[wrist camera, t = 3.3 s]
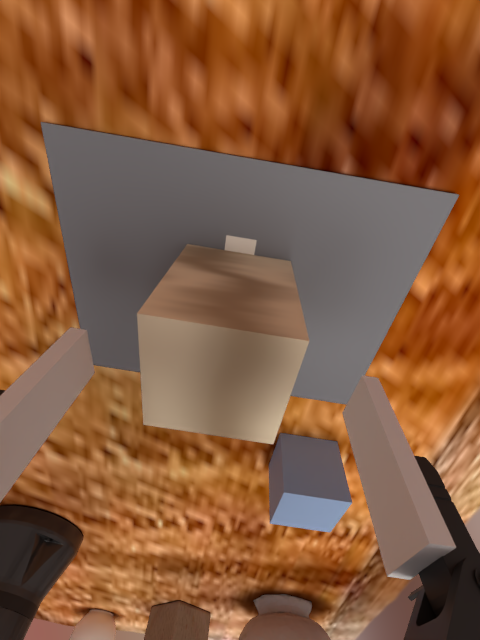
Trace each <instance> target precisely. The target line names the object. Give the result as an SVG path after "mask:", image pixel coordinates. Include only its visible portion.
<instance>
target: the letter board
mask: <svg viewBox="0 0 480 640" xmlns="http://www.w3.org/2000/svg"><path fill="white" fill-rule="evenodd" d="M41 126H42V131H43V137H44V142H45V147H46V152H47V158H48V163H49V168H50V173H51V178H52V184H53V189H54V194H55V199H56V205H57V210H58V215H59V220H60V225H61V231H62V236H63V241H64V246H65V252H66V257H67V262H68V267H69V272H70V278H71V283H72V288H73V293H74V299H75V304H76V309H77V314H78V319H79V325H80V329H84V330H87V334H88V339H89V345H90V350H91V355H92V361H93V365H96V366H103V367H109V368H116V369H122V370H129V371H135V372H140V357H139V340H138V322H137V313H138V311H139V310H140V309H141V307H142V306H143V305H144V303H145V302H146V300H147V299H148V298H149V296H150V295H151V293H152V292H153V291H154V289H155V288H156V287H157V285H158V284H159V282H160V281H161V280H162V278H163V277H164V276H165V274H166V273H167V271H168V270H169V269H170V267H171V266H172V264H173V263H174V262H175V260H176V259H177V258H178V256H179V255H180V253H181V252H182V251H183V249H184V248H185V247H186V245H187V244H191V245H197V246H203V247H209V248H215V249H221V250H227V251H233V252H239V253H245V254H251V255H257V256H263V257H269V258H275V259H281V260H287V261H291V264H292V268H293V273H294V277H295V281H296V286H297V290H298V294H299V299H300V303H301V307H302V311H303V316H304V320H305V324H306V329H307V333H308V337H309V344H308V347H307V349H306V352H305V355H304V358H303V361H302V364H301V367H300V369H299V372H298V375H297V378H296V381H295V384H294V387H293V389H292V392H291V395H290V396H296V397H302V398H308V399H315V400H321V401H328V402H334V403H340V404H347V403H348V401H349V400H350V398H351V396H352V394H353V392H354V390H355V388H356V386H357V384H358V382H359V381H360V379H361V377H362V375H363V376H364V375H365V374H366V372H367V370H368V368H369V366H370V364H371V362H372V360H373V358H374V356H375V355H376V353H377V351H378V349H379V347H380V345H381V343H382V341H383V339H384V337H385V335H386V334H387V332H388V330H389V328H390V326H391V324H392V322H393V320H394V318H395V316H396V314H397V313H398V311H399V309H400V307H401V305H402V303H403V301H404V299H405V297H406V295H407V294H408V292H409V290H410V288H411V286H412V284H413V282H414V280H415V278H416V276H417V274H418V273H419V271H420V269H421V267H422V265H423V263H424V261H425V259H426V257H427V255H428V253H429V252H430V250H431V248H432V246H433V244H434V242H435V240H436V238H437V236H438V234H439V233H440V231H441V229H442V227H443V225H444V223H445V221H446V219H447V217H448V215H449V213H450V212H451V210H452V208H453V206H454V204H455V202H456V200H457V198H458V196H459V195H458V194H454V193H448V192H442V191H436V190H431V189H425V188H419V187H413V186H408V185H402V184H396V183H390V182H385V181H379V180H373V179H367V178H362V177H356V176H350V175H344V174H339V173H333V172H327V171H321V170H316V169H310V168H304V167H298V166H293V165H287V164H281V163H275V162H270V161H264V160H258V159H252V158H246V157H241V156H235V155H229V154H223V153H218V152H212V151H206V150H200V149H195V148H189V147H183V146H177V145H172V144H166V143H160V142H154V141H149V140H143V139H137V138H131V137H126V136H120V135H114V134H108V133H103V132H97V131H91V130H85V129H80V128H74V127H68V126H62V125H57V124H51V123H45V122H41Z"/></svg>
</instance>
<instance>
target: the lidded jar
mask: <svg viewBox="0 0 480 640" xmlns="http://www.w3.org/2000/svg"><path fill="white" fill-rule="evenodd" d="M115 634H116V625H115V621H114V618H113V614H112V613H111V612H108V611H105V610H98V609H92V610H90V611H89V613H87V614H86V615H85V616H84V617H83V618H82V619H81V620H80V621H79V622H78V624H77V625H76V627H75V628H74V630H73V632H72V634H71V636H70V639H69V640H115Z"/></svg>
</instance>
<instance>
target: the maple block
mask: <svg viewBox="0 0 480 640" xmlns="http://www.w3.org/2000/svg"><path fill="white" fill-rule="evenodd" d="M137 322H138V340H139V357H140V374H141V391H142V409H143V425H149V426H155V427H162V428H169V429H175V430H182V431H188V432H195V433H201V434H208V435H215V436H221V437H228V438H234V439H241V440H248V441H254V442H261V443H267V444H274V441H275V438H276V435H277V432H278V429H279V427H280V424H281V421H282V418H283V415H284V412H285V409H286V407H287V404H288V401H289V398H290V395H291V392H292V389H293V387H294V384H295V381H296V378H297V375H298V372H299V369H300V367H301V364H302V361H303V358H304V355H305V352H306V349H307V347H308V344H309V337H308V333H307V329H306V324H305V320H304V316H303V311H302V307H301V303H300V299H299V294H298V290H297V286H296V281H295V277H294V273H293V268H292V264H291V261H287V260H281V259H275V258H269V257H263V256H257V255H251V254H245V253H239V252H233V251H227V250H221V249H215V248H209V247H203V246H197V245H191V244H187V245H186V247H185V248H184V249H183V251H182V252H181V253H180V255H179V256H178V258H177V259H176V260H175V262H174V263H173V264H172V266H171V267H170V269H169V270H168V271H167V273H166V274H165V276H164V277H163V278H162V280H161V281H160V282H159V284H158V285H157V287H156V288H155V289H154V291H153V292H152V293H151V295H150V296H149V298H148V299H147V300H146V302H145V303H144V305H143V306H142V307H141V309H140V310H139V311H138V313H137Z"/></svg>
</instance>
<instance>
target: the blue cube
mask: <svg viewBox="0 0 480 640" xmlns="http://www.w3.org/2000/svg"><path fill="white" fill-rule="evenodd" d="M269 501H270V524H277V525H284V526H291V527H297V528H304V529H311V530H318V531H324V532H331V531H332V529H333V528H334V526H335V525H336V524H337V522H338V521H339V520H340V518H341V517H342V516H343V514H344V513H345V512H346V510H347V509H348V508H349V506H350V505H351V504H352V500H351V496H350V492H349V488H348V484H347V480H346V476H345V472H344V467H343V463H342V459H341V455H340V451H339V447H338V443H337V441H330V440H324V439H317V438H311V437H304V436H298V435H291V434H285V433H280V436H279V439H278V441H277V444H276V447H275V450H274V452H273V455H272V458H271V461H270V463H269Z"/></svg>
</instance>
